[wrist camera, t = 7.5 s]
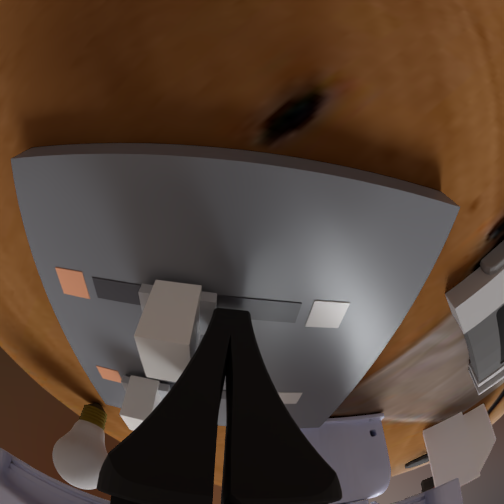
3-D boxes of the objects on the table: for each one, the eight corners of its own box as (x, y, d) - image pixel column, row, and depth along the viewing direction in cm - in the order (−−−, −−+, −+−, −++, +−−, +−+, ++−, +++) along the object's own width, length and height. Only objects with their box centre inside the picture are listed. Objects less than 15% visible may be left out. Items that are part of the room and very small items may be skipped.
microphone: (398, 465, 47) (410, 558, 22) (447, 443, 42) (465, 540, 17) (411, 465, 53) (422, 545, 28) (452, 446, 48) (468, 528, 23)
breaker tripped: (217, 287, 11) (208, 347, 8) (214, 331, 12) (208, 386, 10) (141, 277, 10) (117, 332, 8) (148, 322, 12) (131, 374, 9)
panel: (441, 191, 10) (460, 207, 9) (317, 412, 21) (319, 428, 20) (32, 147, 9) (10, 159, 8) (110, 389, 20) (105, 404, 19)
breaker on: (168, 382, 15) (160, 423, 12) (173, 400, 16) (166, 437, 14) (121, 372, 15) (109, 411, 12) (130, 392, 16) (121, 427, 14)
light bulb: (70, 382, 20) (41, 471, 12) (126, 406, 22) (106, 498, 14) (74, 401, 23) (51, 476, 15) (121, 421, 25) (105, 497, 17)
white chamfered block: (422, 430, 29) (437, 496, 19) (486, 396, 26) (507, 459, 16) (423, 441, 34) (435, 495, 24) (477, 414, 31) (493, 466, 21)
